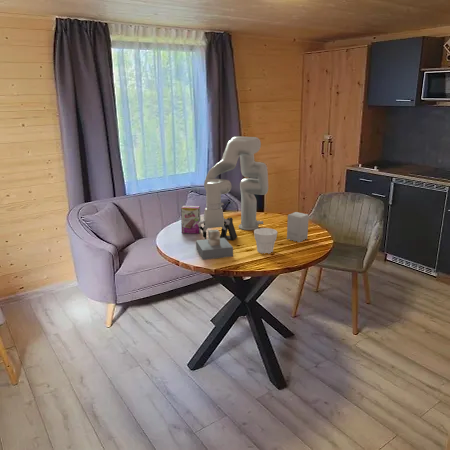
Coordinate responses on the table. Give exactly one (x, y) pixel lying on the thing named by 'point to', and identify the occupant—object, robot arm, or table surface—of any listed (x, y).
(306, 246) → the table surface
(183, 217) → the candy bar box
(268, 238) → the cup
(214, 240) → the cream block
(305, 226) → the supplement box
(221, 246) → the slate block
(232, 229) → the phone stand
